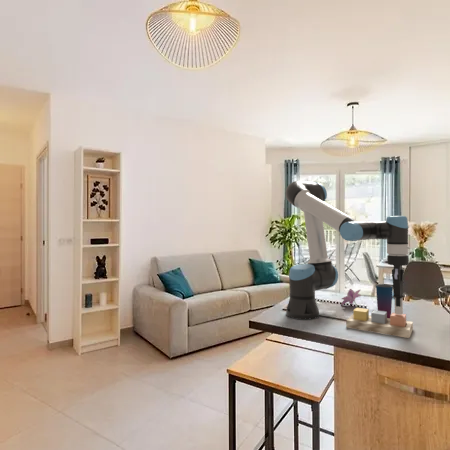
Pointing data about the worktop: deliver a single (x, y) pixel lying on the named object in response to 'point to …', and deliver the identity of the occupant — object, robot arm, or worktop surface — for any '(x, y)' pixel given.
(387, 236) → the robot arm
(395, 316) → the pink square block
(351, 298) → the lily
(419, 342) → the worktop surface
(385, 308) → the cup
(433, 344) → the worktop surface
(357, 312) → the yellow block
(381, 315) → the grey block
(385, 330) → the button board
